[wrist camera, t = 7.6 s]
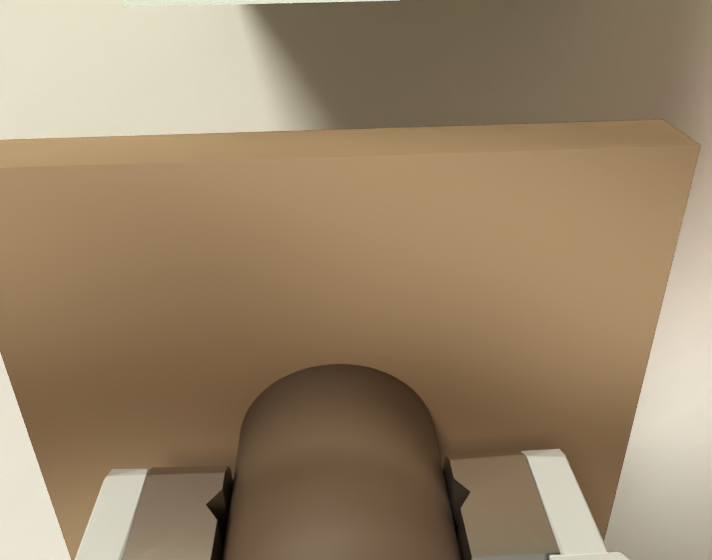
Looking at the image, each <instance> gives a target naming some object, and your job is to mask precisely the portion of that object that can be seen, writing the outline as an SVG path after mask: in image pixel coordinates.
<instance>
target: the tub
mask: <svg viewBox="0 0 712 560" xmlns="http://www.w3.org/2000/svg"><path fill="white" fill-rule="evenodd" d="M356 1H398V0H123V4H124V7H147V6H189V5H230V4H272V3H314V2H356Z"/></svg>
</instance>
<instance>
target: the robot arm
mask: <svg viewBox="0 0 712 560" xmlns="http://www.w3.org/2000/svg"><path fill="white" fill-rule="evenodd" d="M443 474H444V478H445V483H446V488H447V493H448V497H449V502H450V507H451V512H452V516H453V521H454V526H455V531H456V535H457V540H458V545H459V550H460V555H461V559H462V560H630V559H629V558H627V557H626V556H625V555H624V554H622V553H621V552H608V551H607V548H606V546H605V544H604V542H603V539H602V537H601V535H600V533H599V530H598V528H597V526H596V523H595V521H594V519H593V517H592V514H591V512H590V510H589V508H588V505H587V503H586V501H585V498H584V496H583V494H582V492H581V489H580V487H579V485H578V483H577V480H576V478H575V476H574V473H573V471H572V469H571V467H570V464H569V462H568V460H567V458H566V455H565V454H564V453H563V452H562V451H561V450H560V449H547V450H529V451H521V452H519V451H513V452H495V453H477V454H459V455H446V456H445V460H444V466H443ZM232 486H233V478H232V473H231V468H230V467H229V466H195V467H152V468H140V469H112V470H111V471H110V473H109V474H108V475H107V476H106V477H105V479H104V481H103V484H102V487H101V489H100V492H99V495H98V497H97V500H96V503H95V506H94V508H93V511H92V514H91V517H90V519H89V522H88V525H87V527H86V530H85V533H84V536H83V538H82V541H81V544H80V547H79V549H78V552H77V555H76V558H75V560H222V555H223V548H224V542H225V535H226V528H227V521H228V514H229V507H230V500H231V493H232Z"/></svg>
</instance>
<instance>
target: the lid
mask: <svg viewBox="0 0 712 560" xmlns="http://www.w3.org/2000/svg"><path fill="white" fill-rule="evenodd" d="M700 147H701V145H700V144H698V143H697V142H695V141H694V140H692V139H691V138H689V137H688V136H686V135H685V134H684V133H682V132H681V131H679V130H678V129H676V128H675V127H673V126H672V125H670V124H669V123H667V122H666V121H665V120H663V119H661V120H629V121H596V122H564V123H531V124H499V125H467V126H434V127H402V128H369V129H337V130H305V131H272V132H240V133H207V134H175V135H143V136H110V137H78V138H45V139H13V140H0V352H1V355H2V358H3V361H4V364H5V367H6V370H7V373H8V376H9V379H10V382H11V385H12V387H13V390H14V393H15V396H16V399H17V402H18V405H19V408H20V411H21V414H22V417H23V420H24V423H25V425H26V428H27V431H28V434H29V437H30V440H31V443H32V446H33V449H34V452H35V455H36V458H37V461H38V463H39V466H40V469H41V472H42V475H43V478H44V481H45V484H46V487H47V490H48V493H49V496H50V499H51V501H52V504H53V507H54V510H55V513H56V516H57V519H58V522H59V525H60V528H61V531H62V534H63V537H64V539H65V542H66V545H67V548H68V551H69V554H70V557H71V560H75V558H76V555H77V552H78V549H79V547H80V544H81V541H82V538H83V536H84V533H85V530H86V527H87V525H88V522H89V519H90V517H91V514H92V511H93V508H94V506H95V503H96V500H97V497H98V495H99V492H100V489H101V487H102V484H103V481H104V479H105V477H106V476H107V475H108V474H109V473H110V471H111V470H112V469H140V468H152V467H195V466H229V467H230V468H231V473H232V478H233V486H232V493H231V500H230V507H229V514H228V521H227V528H226V535H225V542H224V548H223V555H222V560H462V559H461V555H460V550H459V545H458V540H457V535H456V531H455V526H454V521H453V516H452V512H451V507H450V502H449V497H448V493H447V488H446V483H445V478H444V474H443V466H444V460H445V456H446V455H459V454H477V453H495V452H513V451H519V452H521V451H529V450H547V449H560V450H561V451H562V452H563V453H564V454H565V455H566V458H567V460H568V462H569V464H570V467H571V469H572V471H573V473H574V476H575V478H576V480H577V483H578V485H579V487H580V489H581V492H582V494H583V496H584V498H585V501H586V503H587V505H588V508H589V510H590V512H591V514H592V517H593V519H594V521H595V523H596V526H597V528H598V530H599V533H600V535H601V537H602V539H603V542H604V539H605V535H606V531H607V527H608V523H609V518H610V514H611V510H612V506H613V502H614V498H615V494H616V490H617V486H618V482H619V478H620V474H621V469H622V465H623V461H624V457H625V453H626V449H627V445H628V441H629V437H630V433H631V429H632V425H633V420H634V416H635V412H636V408H637V404H638V400H639V396H640V392H641V388H642V384H643V380H644V375H645V371H646V367H647V363H648V359H649V355H650V351H651V347H652V343H653V339H654V335H655V331H656V326H657V322H658V318H659V314H660V310H661V306H662V302H663V298H664V294H665V290H666V286H667V282H668V277H669V273H670V269H671V265H672V261H673V257H674V253H675V249H676V245H677V241H678V237H679V233H680V228H681V224H682V220H683V216H684V212H685V208H686V204H687V200H688V196H689V192H690V188H691V184H692V179H693V175H694V171H695V167H696V163H697V159H698V155H699V151H700Z"/></svg>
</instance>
